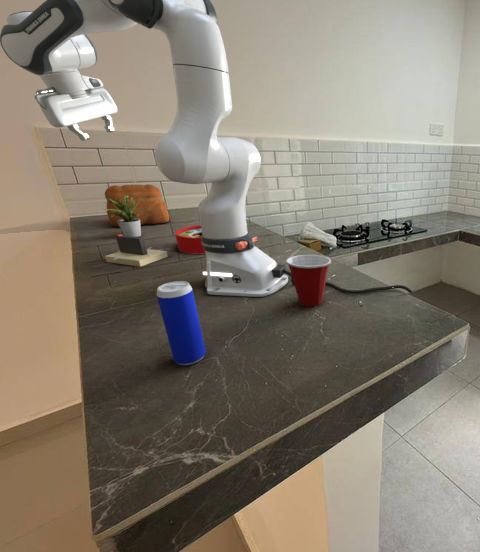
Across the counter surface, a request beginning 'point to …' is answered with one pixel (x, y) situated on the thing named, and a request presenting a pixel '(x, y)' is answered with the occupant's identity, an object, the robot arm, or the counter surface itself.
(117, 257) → the panel
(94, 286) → the counter surface
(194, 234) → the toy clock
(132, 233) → the house plant
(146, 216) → the bread
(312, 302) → the plastic cup
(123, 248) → the dark grey flat block
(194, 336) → the beverage can
